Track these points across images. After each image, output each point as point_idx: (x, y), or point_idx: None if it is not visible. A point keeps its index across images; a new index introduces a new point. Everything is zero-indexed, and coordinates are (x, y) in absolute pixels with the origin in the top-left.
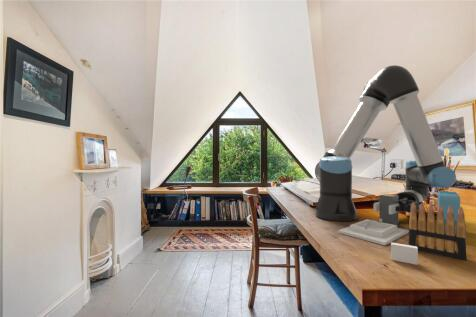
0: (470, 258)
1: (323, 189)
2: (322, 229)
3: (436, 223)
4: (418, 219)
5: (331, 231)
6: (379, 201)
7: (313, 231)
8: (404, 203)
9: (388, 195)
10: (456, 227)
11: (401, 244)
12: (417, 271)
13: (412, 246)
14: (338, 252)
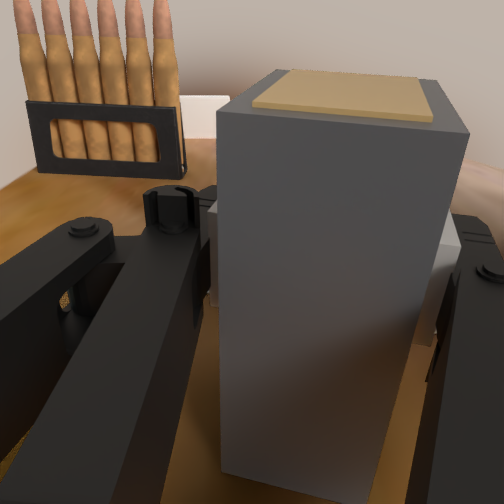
0: (24, 175)
1: None
2: (498, 189)
3: (99, 64)
4: (150, 60)
5: (456, 187)
6: (502, 265)
7: (494, 172)
8: (123, 273)
9: (337, 77)
10: (47, 67)
11: (207, 97)
12: None
13: (184, 97)
14: None
